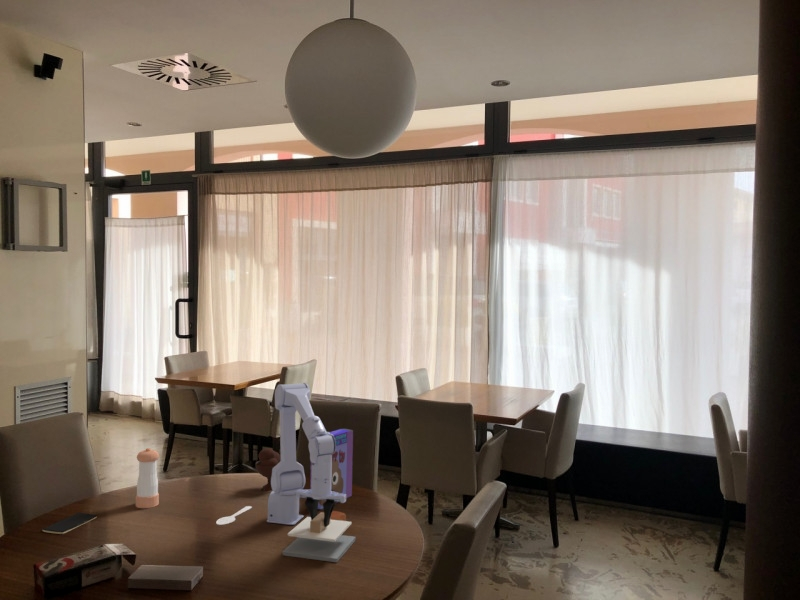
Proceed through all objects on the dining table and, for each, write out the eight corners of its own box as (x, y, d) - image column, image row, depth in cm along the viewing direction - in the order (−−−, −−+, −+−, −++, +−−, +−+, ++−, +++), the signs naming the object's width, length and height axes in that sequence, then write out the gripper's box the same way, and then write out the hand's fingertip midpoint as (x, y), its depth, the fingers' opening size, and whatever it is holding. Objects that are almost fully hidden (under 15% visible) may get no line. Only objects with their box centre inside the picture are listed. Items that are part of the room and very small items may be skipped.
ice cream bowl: (278, 493, 225) (279, 452, 225) (249, 491, 227) (250, 450, 227) (289, 485, 235) (290, 445, 235) (261, 482, 237) (262, 443, 237)
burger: (310, 526, 194) (311, 511, 194) (336, 520, 200) (337, 506, 200) (325, 536, 186) (326, 521, 186) (352, 530, 192) (353, 515, 192)
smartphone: (98, 514, 199) (62, 531, 184) (97, 518, 199) (62, 535, 184) (78, 512, 200) (41, 529, 186) (78, 515, 200) (41, 532, 186)
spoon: (257, 508, 210) (257, 506, 210) (225, 526, 193) (225, 525, 193) (243, 506, 212) (243, 504, 212) (211, 524, 195) (211, 522, 195)
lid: (287, 535, 173) (287, 522, 173) (307, 518, 186) (307, 506, 186) (334, 541, 169) (335, 528, 169) (351, 523, 183) (351, 511, 183)
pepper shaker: (163, 503, 212) (164, 447, 212) (144, 509, 206) (145, 452, 205) (149, 499, 216) (150, 444, 216) (130, 505, 210) (131, 448, 209)
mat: (282, 555, 172) (282, 551, 172) (305, 533, 188) (305, 530, 188) (336, 562, 168) (337, 558, 168) (355, 540, 184) (355, 536, 184)
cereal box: (320, 510, 209) (322, 438, 209) (309, 507, 211) (311, 436, 211) (351, 496, 224) (353, 429, 223) (341, 493, 226) (342, 427, 226)
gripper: (292, 478, 176) (291, 526, 176) (340, 483, 172) (339, 532, 172) (302, 472, 183) (301, 518, 183) (349, 476, 179) (348, 523, 179)
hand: (320, 524), depth 178 cm, fingers closed on lid, 3 cm apart
